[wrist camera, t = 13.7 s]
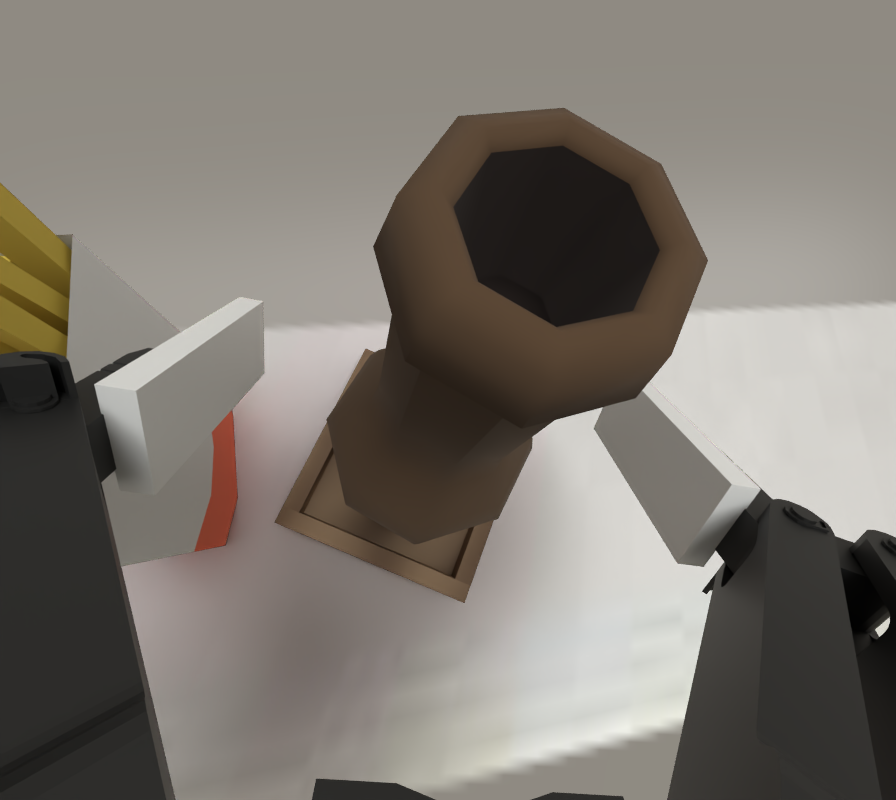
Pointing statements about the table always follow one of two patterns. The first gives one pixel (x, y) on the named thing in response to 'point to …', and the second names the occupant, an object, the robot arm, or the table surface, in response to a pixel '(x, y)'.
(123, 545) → the french fries container
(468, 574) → the wooden tray
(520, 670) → the table surface
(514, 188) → the beer bottle
